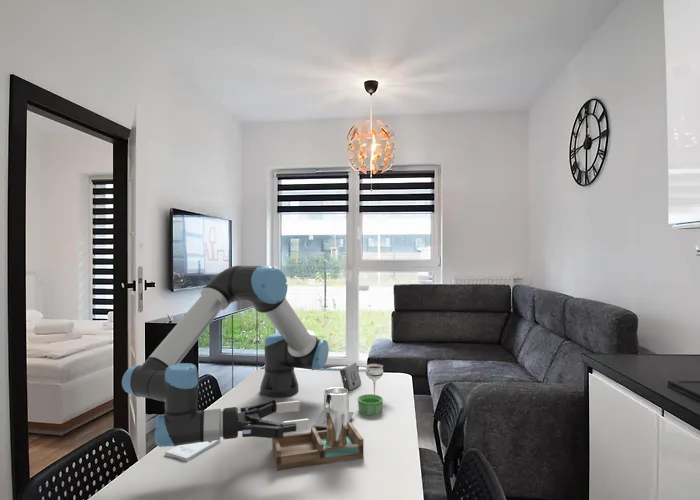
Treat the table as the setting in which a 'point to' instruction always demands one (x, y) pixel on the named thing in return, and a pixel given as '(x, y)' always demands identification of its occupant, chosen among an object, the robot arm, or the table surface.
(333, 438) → the chrome pint tumbler
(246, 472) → the table surface
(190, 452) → the external hard drive
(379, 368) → the wineglass
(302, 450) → the caddy
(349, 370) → the electrical switch
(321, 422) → the electrical outlet
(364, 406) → the ramekin
